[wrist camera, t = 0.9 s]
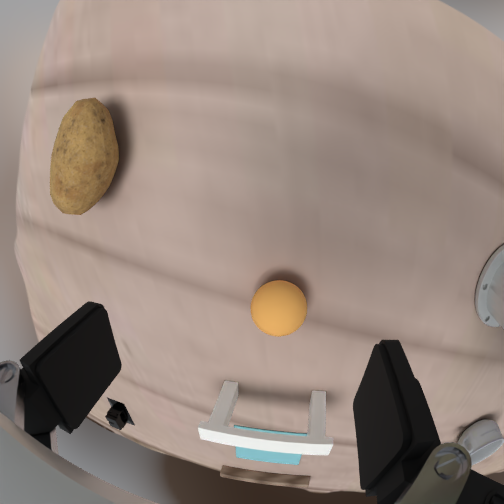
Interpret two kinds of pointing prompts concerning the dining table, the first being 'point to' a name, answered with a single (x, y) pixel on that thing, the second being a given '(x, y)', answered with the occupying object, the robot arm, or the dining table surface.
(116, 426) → the black angular piece
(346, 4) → the dining table surface
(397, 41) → the dining table surface
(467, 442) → the teacup
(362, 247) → the dining table surface
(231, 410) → the bridge
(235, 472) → the stopper
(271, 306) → the ball
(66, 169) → the potato
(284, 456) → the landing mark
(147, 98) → the dining table surface
